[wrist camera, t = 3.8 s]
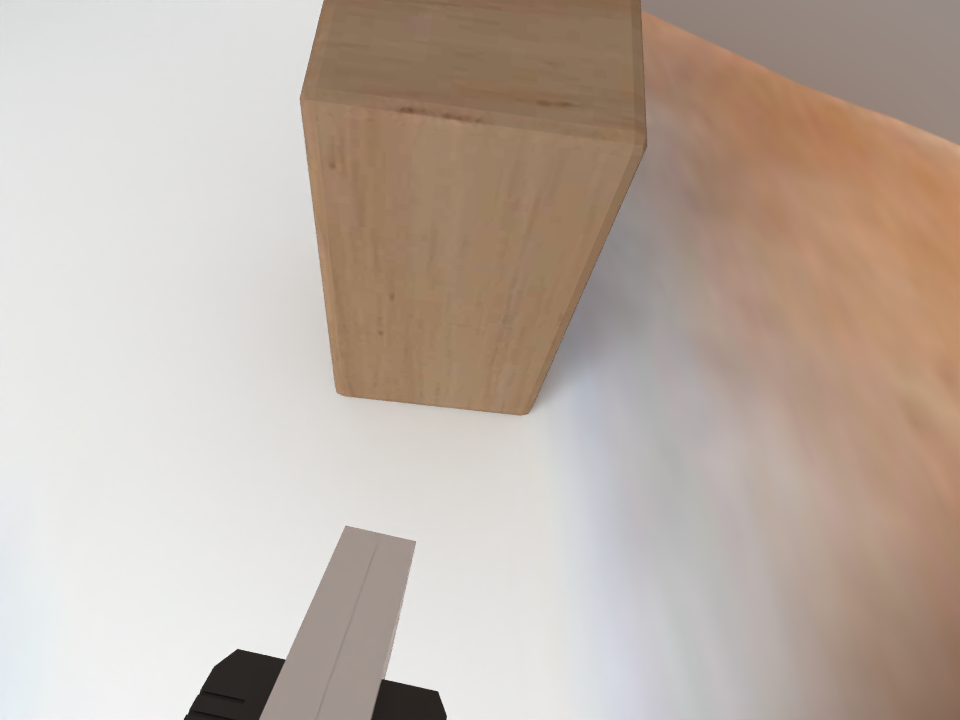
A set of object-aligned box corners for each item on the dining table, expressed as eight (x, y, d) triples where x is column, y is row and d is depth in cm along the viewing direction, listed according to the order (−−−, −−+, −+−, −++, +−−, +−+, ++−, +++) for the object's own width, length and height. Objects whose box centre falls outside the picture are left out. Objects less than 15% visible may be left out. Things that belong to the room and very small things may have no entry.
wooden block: (361, 238, 43) (348, -120, 25) (536, 259, 44) (642, -74, 26) (334, 398, 38) (294, 97, 21) (529, 420, 39) (653, 146, 21)
